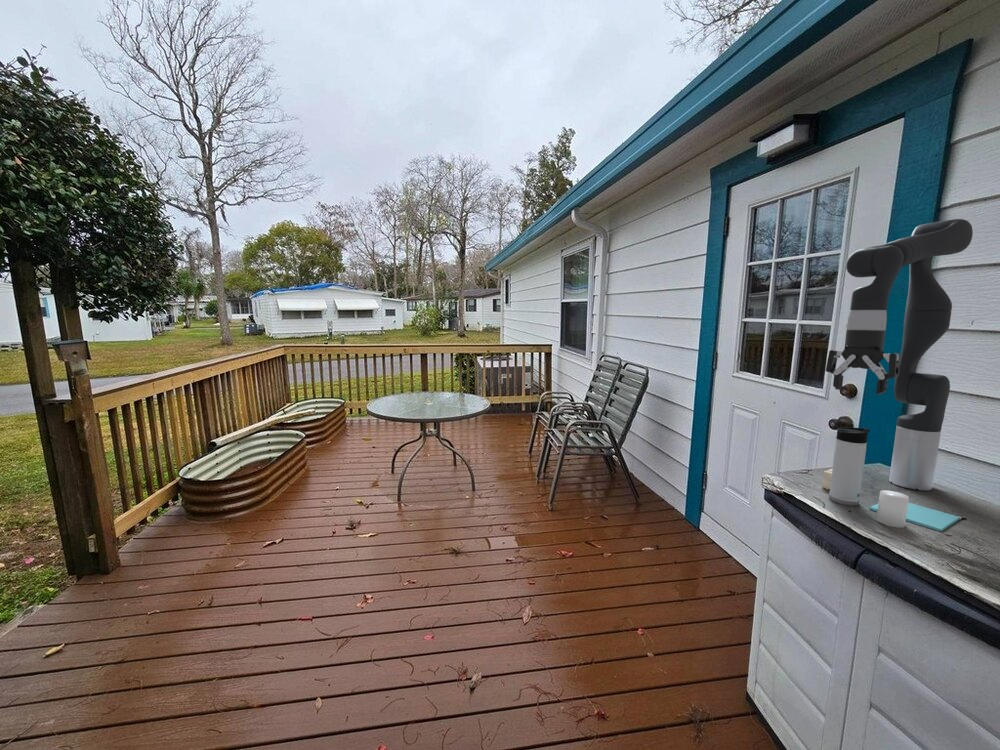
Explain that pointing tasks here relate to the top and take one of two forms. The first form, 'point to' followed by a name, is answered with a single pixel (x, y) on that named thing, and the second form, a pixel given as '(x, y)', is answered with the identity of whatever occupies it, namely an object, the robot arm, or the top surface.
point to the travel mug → (848, 465)
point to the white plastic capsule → (892, 508)
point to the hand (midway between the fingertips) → (858, 391)
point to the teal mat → (927, 517)
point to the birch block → (827, 479)
